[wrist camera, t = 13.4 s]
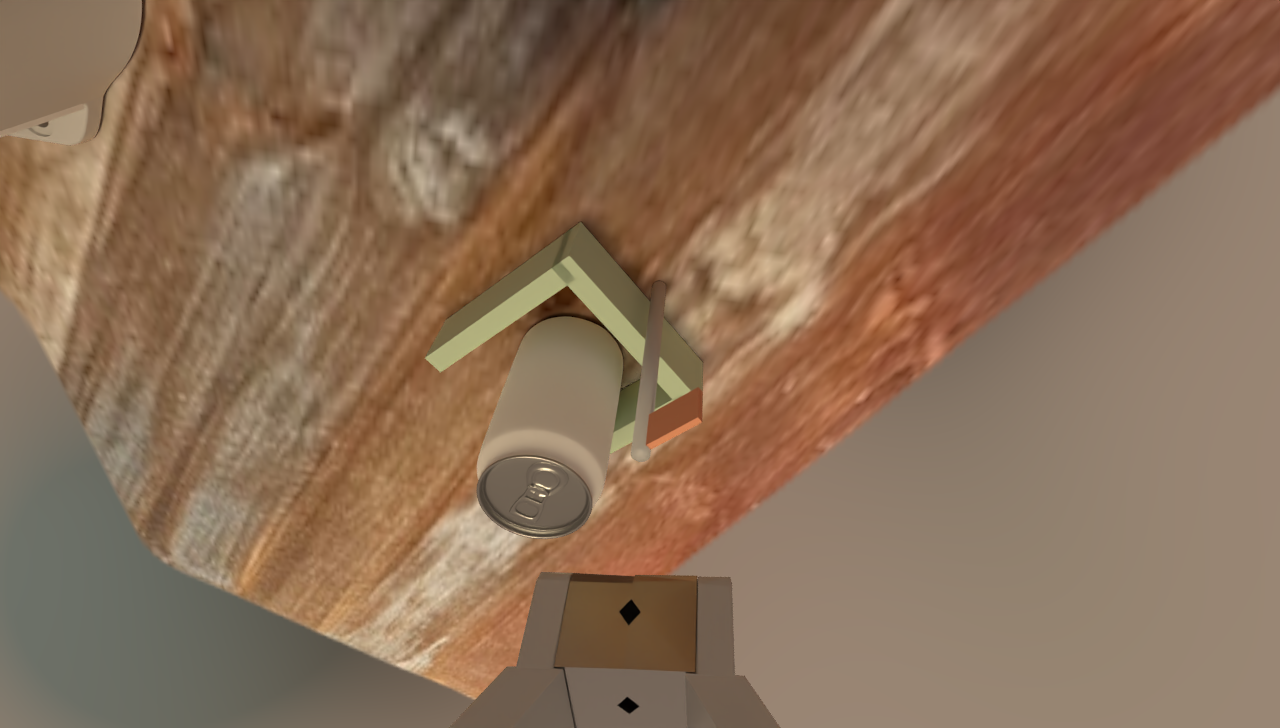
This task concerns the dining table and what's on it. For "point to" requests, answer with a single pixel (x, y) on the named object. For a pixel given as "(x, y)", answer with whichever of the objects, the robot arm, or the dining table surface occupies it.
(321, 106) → the dining table surface
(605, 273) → the olive frame
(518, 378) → the can
